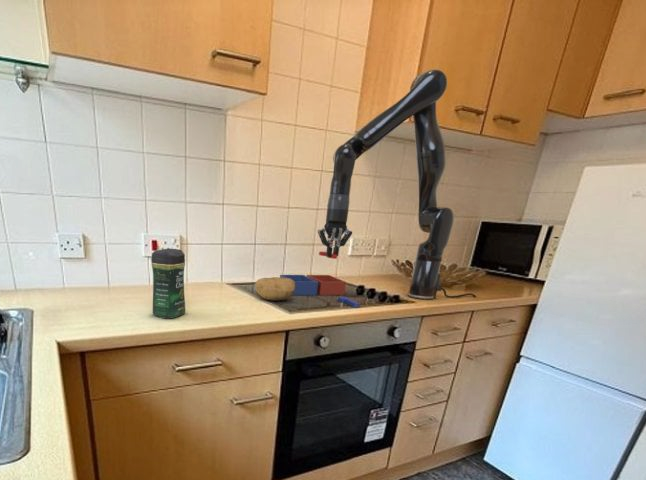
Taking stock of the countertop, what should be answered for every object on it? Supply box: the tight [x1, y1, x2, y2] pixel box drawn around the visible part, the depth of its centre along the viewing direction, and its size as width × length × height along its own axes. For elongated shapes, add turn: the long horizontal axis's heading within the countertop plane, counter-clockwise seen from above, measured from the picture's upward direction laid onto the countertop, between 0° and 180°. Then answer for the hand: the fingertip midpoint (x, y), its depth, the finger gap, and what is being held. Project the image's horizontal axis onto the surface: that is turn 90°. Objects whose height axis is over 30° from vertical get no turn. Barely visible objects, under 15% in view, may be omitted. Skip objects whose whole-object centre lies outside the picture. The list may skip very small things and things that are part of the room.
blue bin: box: [279, 274, 318, 296], centre depth 159 cm, size 10×15×5 cm
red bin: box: [306, 274, 347, 296], centre depth 161 cm, size 10×15×5 cm
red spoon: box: [318, 251, 338, 260], centre depth 154 cm, size 12×4×1 cm, turn 14°
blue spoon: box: [337, 296, 360, 308], centre depth 143 cm, size 12×4×1 cm, turn 14°
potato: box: [254, 276, 296, 302], centre depth 140 cm, size 10×14×8 cm
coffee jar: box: [150, 248, 186, 319], centre depth 114 cm, size 10×8×19 cm
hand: (331, 257), depth 151 cm, fingers closed on red spoon, 1 cm apart
